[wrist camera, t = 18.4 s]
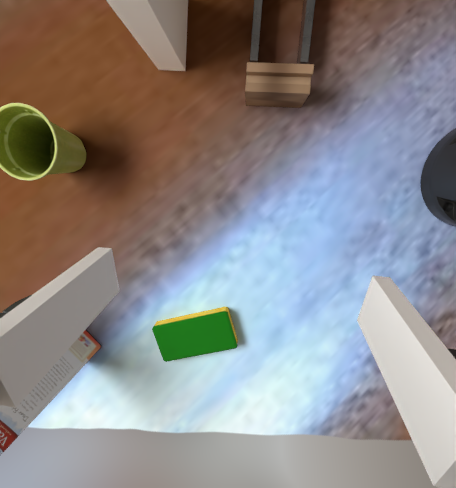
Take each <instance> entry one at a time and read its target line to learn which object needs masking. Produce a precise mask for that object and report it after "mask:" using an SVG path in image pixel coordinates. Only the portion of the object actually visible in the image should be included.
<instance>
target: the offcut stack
mask: <svg viewBox="0 0 456 488" xmlns="http://www.w3.org/2000/svg"><path fill="white" fill-rule="evenodd" d="M313 70H314V64H288V63H254V62H247V71H246V74H247V76H246V88H245V98H246V106H270V107H295V108H301V107H302V105H303V104H304V102H305V100H306V99H307V97H308V96H309V94H310V88H311V85H310V81H311V76H312V75H313Z"/></svg>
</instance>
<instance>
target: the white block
mask: <svg viewBox="0 0 456 488" xmlns="http://www.w3.org/2000/svg"><path fill="white" fill-rule="evenodd" d="M106 1H107V2H108V3H109V5H110V6H111V7H112V9H113V10H114V11H115V13H116V14H117V15H118V17H119V18H120V19H121V21H122V22H123V23H124V24H125V26H126V27H127V28H128V30H129V31H130V32H131V34H132V35H133V36H134V38H135V39H136V40H137V42H138V43H139V44H140V46H141V47H142V48H143V50H144V51H145V52H146V54H147V55H148V56H149V58H150V59H151V60H152V61H153V63H154V64H155V65H156V67H157V68H158V69H159V70H172V71H186V44H187V17H188V0H106Z"/></svg>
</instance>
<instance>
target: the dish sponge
mask: <svg viewBox="0 0 456 488" xmlns="http://www.w3.org/2000/svg"><path fill="white" fill-rule="evenodd" d="M152 330H153V333H154V335H155V338H156V341H157V344H158V346H159V349H160V352H161V355H162V357H163V360H164V361H172V360H177V359H182V358H187V357H192V356H198V355H203V354H208V353H213V352H219V351H224V350H229V349H234V348H236V347H237V342H238V339H237V336H236V332H235V329H234V326H233V322H232V319H231V315H230V312H229V309H228V307H222V308H217V309H213V310H208V311H203V312H199V313H194V314H189V315H185V316H180V317H176V318H171V319H166V320H162V321H157V322H156V324H155V325H154V327H153V329H152Z"/></svg>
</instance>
